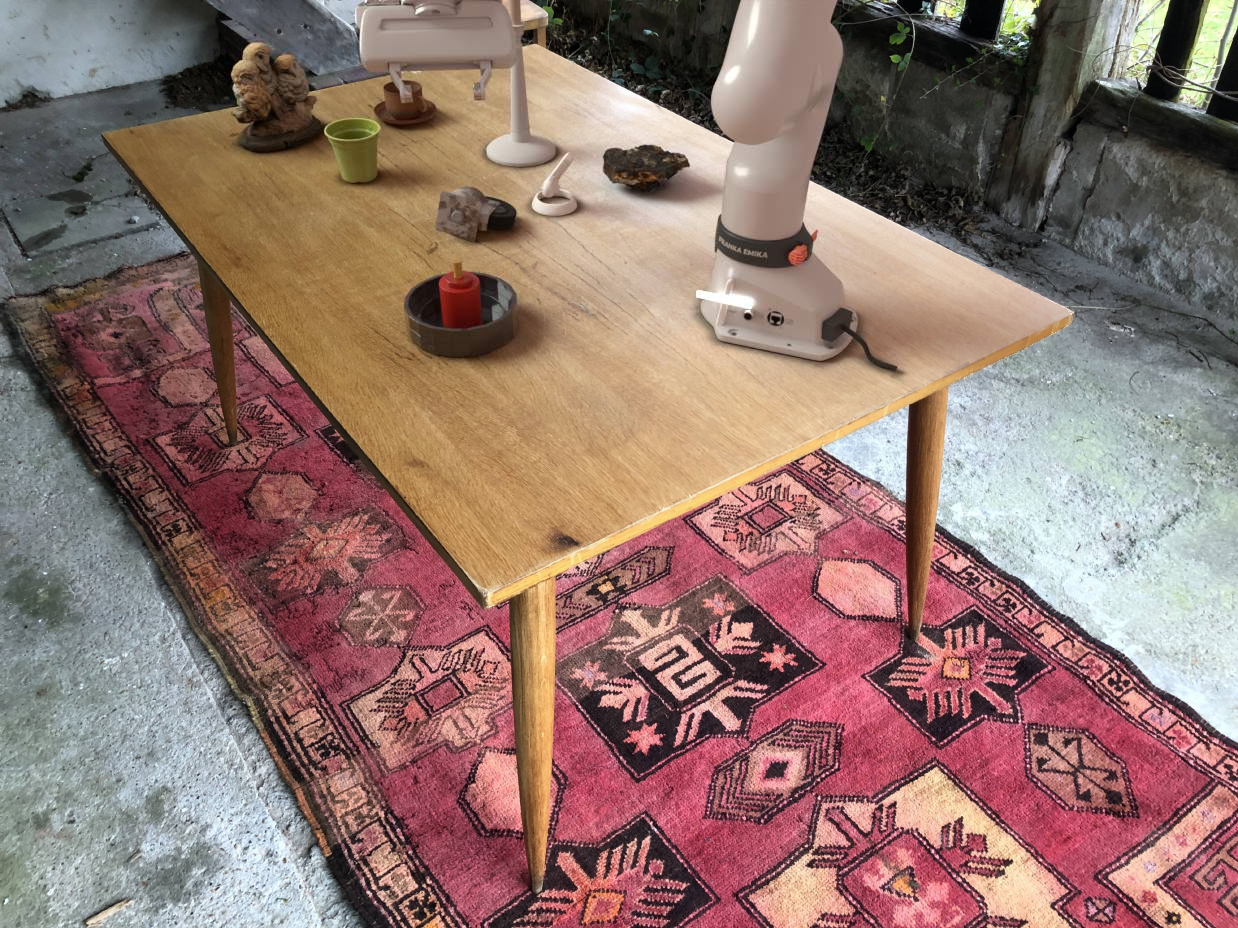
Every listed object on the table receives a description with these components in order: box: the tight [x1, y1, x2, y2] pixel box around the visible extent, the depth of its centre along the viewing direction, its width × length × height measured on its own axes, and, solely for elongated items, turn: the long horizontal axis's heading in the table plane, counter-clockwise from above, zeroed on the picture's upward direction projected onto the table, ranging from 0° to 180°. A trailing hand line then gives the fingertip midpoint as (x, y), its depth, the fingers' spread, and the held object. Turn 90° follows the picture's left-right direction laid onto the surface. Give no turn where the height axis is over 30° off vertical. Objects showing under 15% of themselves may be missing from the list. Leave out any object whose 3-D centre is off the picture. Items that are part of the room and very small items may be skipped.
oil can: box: [439, 258, 483, 329], centre depth 132 cm, size 5×5×10 cm
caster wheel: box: [434, 186, 518, 243], centre depth 158 cm, size 7×11×10 cm
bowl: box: [403, 271, 519, 358], centre depth 135 cm, size 15×15×5 cm
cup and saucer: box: [373, 79, 437, 126], centre depth 191 cm, size 12×12×6 cm
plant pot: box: [323, 117, 382, 184], centre depth 170 cm, size 9×9×9 cm
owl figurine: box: [230, 42, 323, 153], centre depth 179 cm, size 18×12×17 cm, turn 148°
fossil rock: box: [602, 144, 691, 193], centre depth 171 cm, size 14×14×6 cm
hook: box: [531, 152, 578, 217], centre depth 163 cm, size 8×12×7 cm
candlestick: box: [486, 0, 557, 168], centre depth 172 cm, size 13×13×30 cm
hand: (443, 100), depth 127 cm, fingers open, 8 cm apart
